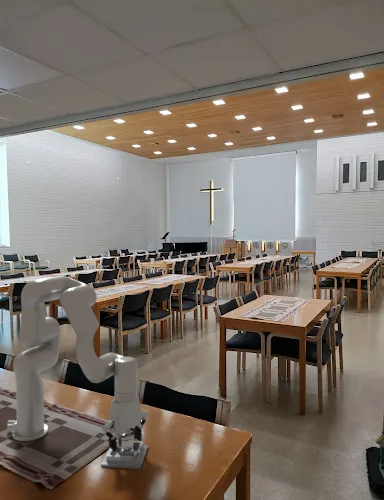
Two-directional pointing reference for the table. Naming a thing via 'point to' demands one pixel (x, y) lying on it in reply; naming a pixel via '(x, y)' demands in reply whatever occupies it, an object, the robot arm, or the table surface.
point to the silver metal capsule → (125, 443)
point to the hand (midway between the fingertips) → (125, 444)
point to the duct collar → (126, 457)
